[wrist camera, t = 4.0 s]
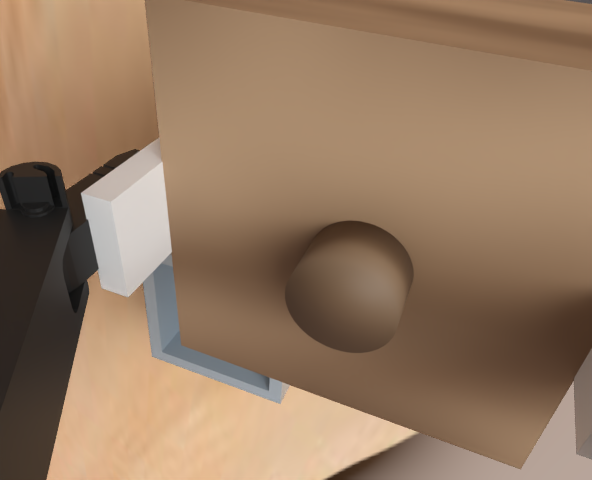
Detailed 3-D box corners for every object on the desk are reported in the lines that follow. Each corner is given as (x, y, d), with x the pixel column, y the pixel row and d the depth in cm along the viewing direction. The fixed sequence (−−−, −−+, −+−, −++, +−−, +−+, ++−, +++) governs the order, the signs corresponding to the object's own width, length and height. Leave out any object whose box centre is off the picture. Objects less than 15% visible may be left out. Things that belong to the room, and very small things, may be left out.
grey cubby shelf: (190, 197, 30) (138, 244, 26) (325, 234, 28) (290, 291, 24) (195, 303, 34) (152, 356, 31) (311, 341, 32) (280, 403, 29)
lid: (254, -44, 14) (92, 10, 9) (680, 16, 11) (776, 139, 6) (251, 252, 20) (153, 382, 15) (527, 336, 17) (517, 525, 12)
